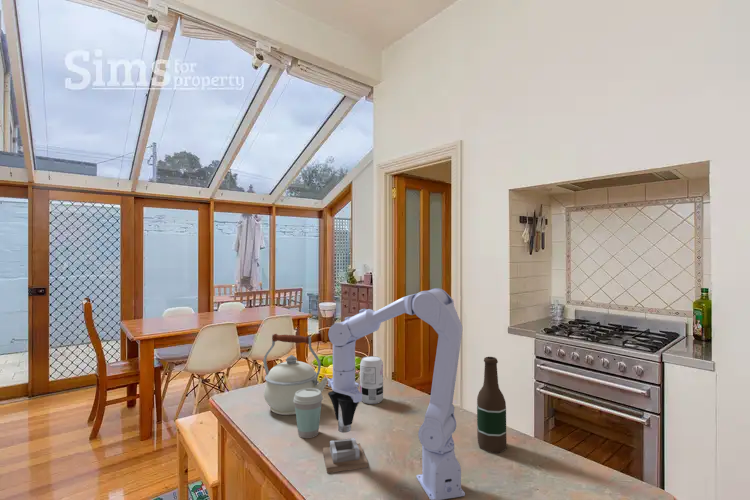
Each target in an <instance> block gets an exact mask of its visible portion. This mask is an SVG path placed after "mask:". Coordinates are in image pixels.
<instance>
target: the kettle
mask: <svg viewBox="0 0 750 500" xmlns="http://www.w3.org/2000/svg"><path fill="white" fill-rule="evenodd" d="M271 338H272V339H271V342H272V343H271V346H270V348H269V349H268V350H267V351H266V353H265V355H264V357H263V362H262V363H263V367H264V371H265V374H266V375H265V382H266V383H265V386H264V389H263V397H264V399H265V402H266V403H267V404H268V405H269V406H270V407H269V408H270V411H272V412H273V413H274V414H276V415H280V416H281V415H283V416H285V415H286V416H291V415H296V410H295V402H294V401H293V400H294V396H295V393H296V392H297V391H299V390H302V389H308V388H313V389H318V390H320V391H321V393H322V392H323V391H324V389H325V387H326V386H327V385H328V379H329V378H328V377H323V378H322V380H321V381H319V380H318V377H319V376H320V372H321V369H322V367H321V365H322V364H321V360H320V358H319V356H318V354H317V353H316V352H315V351H314V349H313V347H312V336H311V335H310V336H309V335H307V336H303V335H298V334H297V335H295V334H277V333H273V334H272V336H271ZM277 341H278V342H283V343H291V344H293V343H294V344H304V343H305V344H307V345H308V349H309V351H310V353H311V354H312V356H313V357H314V358H315V360H316V362H317V366H318V367H317V371H315V370H314V368H313V367H312V365H311V364H309V363H306V362H304V361H301V360H300V361H299V360H298V358H297V357H296V356H295V355H293V354H290V355H289V356H288V357H286V359H285V361H284V362H280V363H278V364H276V365H274V366H273V367H272V368H270V370H269V367H268V364H267V357H268V355H269V353H270V352H271V351H272V350H273V348H274V347H275V344H276V342H277Z"/></svg>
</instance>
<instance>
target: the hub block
mask: <svg viewBox="0 0 750 500" xmlns="http://www.w3.org/2000/svg"><path fill="white" fill-rule="evenodd" d="M322 455H323V460H324V464H325V465H324V466H325V469H326V470H325V471H326V473H327V474H328V473H336V472H344V471H351V470H359V469H364V468H368V464H369V462H368V459H367V458H366V455H365V453H364V451H363V448H362V446H361V443H357V441H356V438H355V437H351V438H343V439H335V440H330V441H329V446H327V447H326V446H325V447H322Z"/></svg>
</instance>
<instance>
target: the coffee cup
mask: <svg viewBox="0 0 750 500" xmlns="http://www.w3.org/2000/svg"><path fill="white" fill-rule="evenodd" d="M323 400H324V397H323V394H322V392H321V391H320V390H318V389H313V388H308V389H302V390H299V391H297V392H296V393H295V396H294V400H293V401H294V402H295V410H296V414H295V417H296V426H297V435H298V437H300V438H303V439H311V438H315V437H316V436H318V435H319V431H320V430H319V429H320V420H321V419H320V418H321V410H322V401H323Z"/></svg>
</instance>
